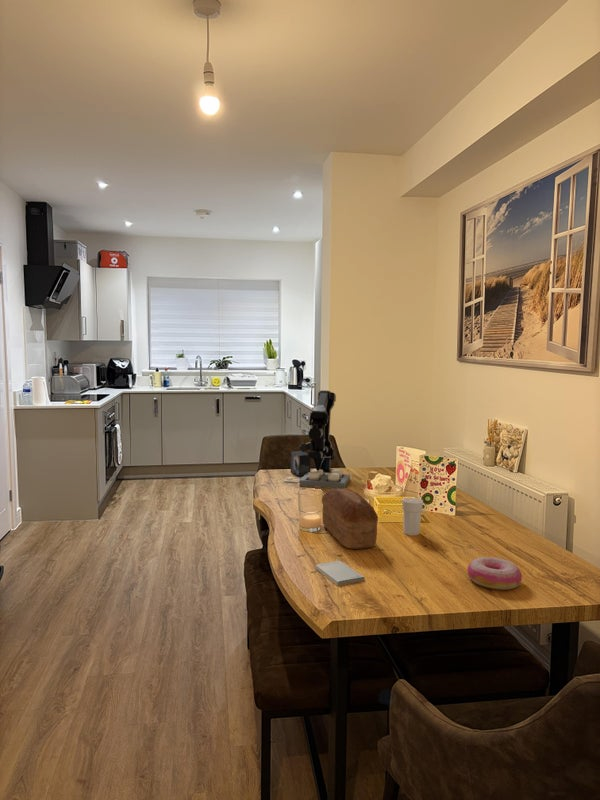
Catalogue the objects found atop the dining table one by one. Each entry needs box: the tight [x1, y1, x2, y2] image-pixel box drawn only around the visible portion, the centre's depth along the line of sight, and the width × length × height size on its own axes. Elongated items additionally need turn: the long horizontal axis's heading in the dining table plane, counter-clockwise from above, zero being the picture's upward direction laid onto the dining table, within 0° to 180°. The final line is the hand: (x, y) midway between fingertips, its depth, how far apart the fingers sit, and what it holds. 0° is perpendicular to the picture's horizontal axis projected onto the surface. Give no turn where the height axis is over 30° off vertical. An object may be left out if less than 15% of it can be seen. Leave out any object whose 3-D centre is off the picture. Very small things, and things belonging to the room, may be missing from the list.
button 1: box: [308, 471, 319, 481], centre depth 246 cm, size 5×5×3 cm
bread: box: [321, 487, 379, 550], centre depth 177 cm, size 12×28×14 cm, turn 15°
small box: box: [290, 450, 311, 478], centre depth 266 cm, size 11×6×10 cm, turn 25°
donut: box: [466, 556, 523, 591], centre depth 144 cm, size 14×13×5 cm
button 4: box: [330, 468, 343, 478], centre depth 253 cm, size 5×5×3 cm
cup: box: [401, 497, 424, 536], centre depth 181 cm, size 7×7×11 cm
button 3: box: [328, 472, 339, 482], centre depth 244 cm, size 5×5×3 cm
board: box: [283, 472, 351, 489], centre depth 251 cm, size 18×28×2 cm, turn 77°
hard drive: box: [314, 560, 365, 586], centre depth 147 cm, size 2×8×12 cm
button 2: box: [311, 468, 324, 476], centre depth 255 cm, size 5×5×3 cm
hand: (317, 470), depth 255 cm, fingers closed, pressing on button 2
